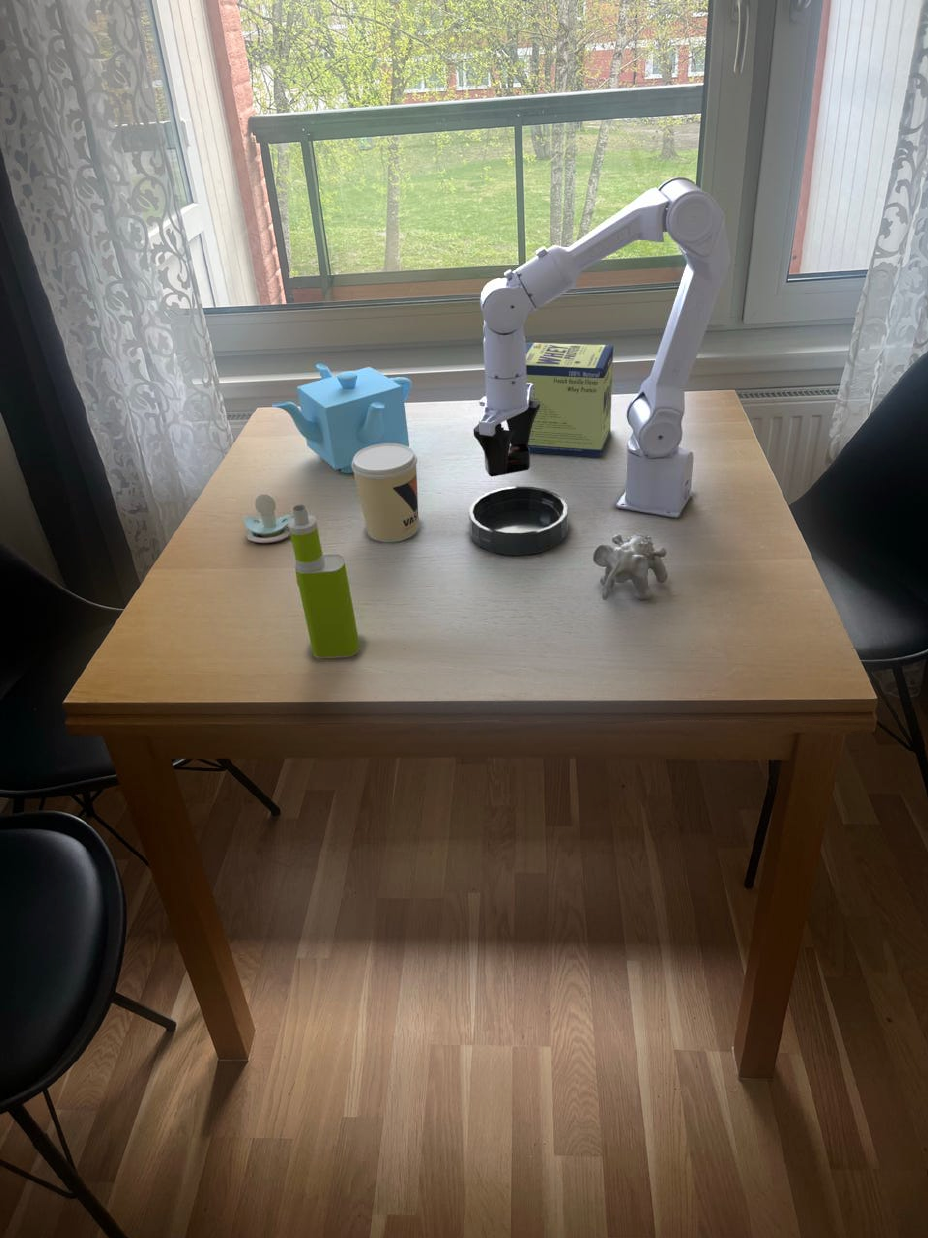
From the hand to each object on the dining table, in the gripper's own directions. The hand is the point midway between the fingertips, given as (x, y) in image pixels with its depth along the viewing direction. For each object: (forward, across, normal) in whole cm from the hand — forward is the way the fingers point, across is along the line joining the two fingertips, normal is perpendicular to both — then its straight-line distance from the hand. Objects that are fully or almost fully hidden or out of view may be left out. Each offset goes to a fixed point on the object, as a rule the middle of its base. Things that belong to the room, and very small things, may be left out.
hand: (509, 461), depth 132 cm
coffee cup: (+9, +11, -15) cm, 20 cm away
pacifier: (+9, +19, -32) cm, 38 cm away
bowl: (+8, +5, +3) cm, 10 cm away
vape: (+9, +39, -7) cm, 40 cm away
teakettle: (+9, -8, -34) cm, 36 cm away
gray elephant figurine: (+9, +15, +23) cm, 29 cm away
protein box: (+9, -25, -1) cm, 27 cm away
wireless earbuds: (+1, 0, 0) cm, 1 cm away
